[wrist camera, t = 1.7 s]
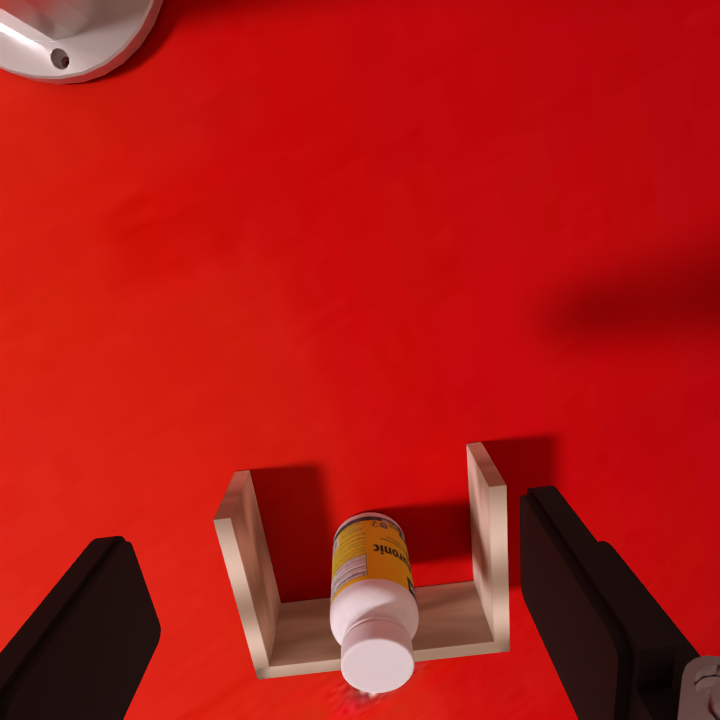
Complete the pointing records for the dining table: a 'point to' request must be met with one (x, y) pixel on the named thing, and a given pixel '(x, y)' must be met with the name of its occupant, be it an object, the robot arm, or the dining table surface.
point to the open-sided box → (312, 617)
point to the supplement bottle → (373, 603)
